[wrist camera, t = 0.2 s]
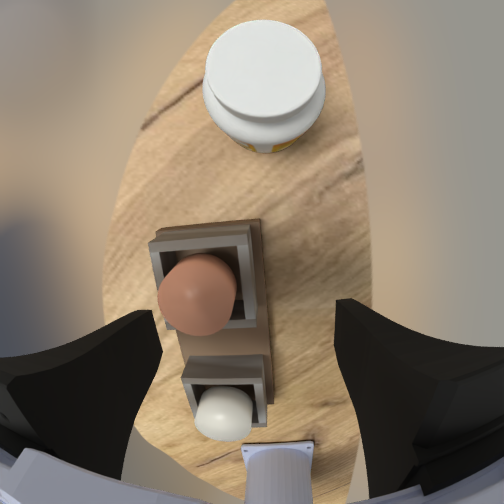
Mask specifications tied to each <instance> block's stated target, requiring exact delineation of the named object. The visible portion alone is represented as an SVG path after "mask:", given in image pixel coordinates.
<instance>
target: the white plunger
mask: <svg viewBox="0 0 504 504" xmlns="http://www.w3.org/2000/svg"><path fill="white" fill-rule="evenodd" d="M252 409H253V403H252V400H251V398H250V397H249V396H248V395H247V394H246V393H245V392H243V391H242V390H240V389H237V388H234V387H230V386H215V387H211V388H209V389H207V390H206V391H204V392H203V394H202V396H201V399H200V402H199V406H198V410H197V414H196V417H195V426H196V428H197V429H198V430H199V431H200V432H201V433H202V434H203V435H205V436H207V437H209V438H211V439H214V440H218V441H226V442H231V441H237V440H241V439H243V438H245V437H246V436H248V435H249V433H250V431H251V424H252Z"/></svg>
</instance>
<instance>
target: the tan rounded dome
mask: <svg viewBox="0 0 504 504" xmlns="http://www.w3.org/2000/svg"><path fill="white" fill-rule="evenodd" d="M236 292H237V283H236V278H235V275H234V273H233V271H232V270H231V268H230V267H229V266H228V265H227V264H226V263H225V262H224V261H223V260H221V259H220V258H218V257H216V256H214V255H211V254H207V253H195V254H191V255H188V256H186V257H184V258H183V259H181V260H180V261H179V262H178V263H177V264H176V266H175V267H174V268H173V269H172V270H171V271H170V272H169V273H168V275H167V276H166V277H165V278H164V279H163V281H162V282H161V284H160V287H159V290H158V305H159V308H160V311H161V313H162V315H163V316H164V318H165V319H166V320H167V321H168V323H169V324H170V325H172V326H173V327H174V328H176V329H177V330H179V331H181V332H183V333H185V334H189V335H193V336H207V335H211V334H214V333H216V332H218V331H219V330H221V329H222V328H223V327H224V326H225V325H226V324H227V322H228V321H229V319H230V316H231V313H232V309H233V305H234V300H235V296H236Z"/></svg>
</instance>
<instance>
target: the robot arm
mask: <svg viewBox="0 0 504 504" xmlns="http://www.w3.org/2000/svg"><path fill="white" fill-rule="evenodd" d="M334 348H335V352H336V357H337V361H338V365H339V368H340V371H341V373H342V376H343V379H344V382H345V384H346V387H347V389H348V392H349V395H350V398H351V400H352V403H353V406H354V409H355V412H356V415H357V419H358V424H359V428H360V433H361V438H362V443H363V449H364V455H365V461H366V469H367V477H368V487H369V499H368V500H364V501H359V502H354V503H349V504H504V347H481V346H472V345H464V344H458V343H453V342H449V341H445V340H440V339H436V338H433V337H430V336H426V335H424V334H421V333H418V332H416V331H413V330H411V329H408V328H406V327H404V326H402V325H400V324H397V323H395V322H393V321H391V320H390V319H388V318H386V317H384V316H382V315H380V314H379V313H377V312H375V311H373V310H372V309H370V308H368V307H367V306H365V305H363V304H361V303H360V302H358V301H356V300H354V299H352V298H350V299H341V300H336V313H335V334H334ZM162 353H163V350H162V347H161V343H160V340H159V336H158V332H157V329H156V325H155V321H154V317H153V314H152V310H137V311H134V312H131V313H129V314H127V315H125V316H123V317H121V318H119V319H117V320H115V321H113V322H111V323H110V324H108V325H106V326H104V327H102V328H100V329H98V330H96V331H94V332H92V333H90V334H88V335H86V336H84V337H82V338H79V339H77V340H75V341H72V342H70V343H67V344H65V345H62V346H59V347H56V348H52V349H49V350H45V351H42V352H38V353H34V354H28V355H22V356H16V357H5V358H0V501H1V502H2V503H3V504H211V503H208V502H205V501H202V500H200V499H196V498H191V497H187V496H182V495H178V494H174V493H170V492H166V491H162V490H157V489H152V488H148V487H143V486H138V485H134V484H131V483H127V482H123V481H121V474H122V468H123V462H124V458H125V453H126V449H127V445H128V441H129V437H130V434H131V430H132V427H133V424H134V421H135V418H136V415H137V413H138V410H139V408H140V406H141V404H142V402H143V400H144V398H145V396H146V394H147V391H148V389H149V387H150V385H151V383H152V381H153V379H154V377H155V375H156V372H157V370H158V367H159V364H160V360H161V357H162ZM313 448H314V442H313V441H302V442H290V443H274V444H243V445H242V446H241V451H242V455H243V459H244V463H245V467H246V470H247V478H246V491H245V504H313V497H312V486H311V476H310V473H311V465H312V457H313Z"/></svg>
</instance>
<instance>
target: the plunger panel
mask: <svg viewBox="0 0 504 504" xmlns="http://www.w3.org/2000/svg"><path fill="white" fill-rule="evenodd" d="M148 246H149V251H150V257H151V262H152V267H153V272H154V276H155V281H156V286H157V290H159V287H160V284H161V282H162V281H163V279H164V278H165V277H166V276H167V275H168V273H169V272H170V271H171V270H172V269H173V268H174V267H175V266H176V264H177V263H178V262H179V261H180V260H181V259H183V258H184V257H186V256H188V255H191V254H195V253H207V254H211V255H214V256H216V257H218V258H220V259H221V260H223V261H224V262H225V263H226V264H227V265H228V266H229V267H230V268H231V270H232V271H233V273H234V275H235V278H236V283H237V292H236V296H235V300H234V305H233V309H232V313H231V316H230V319H229V321H228V322H227V324H226V325H225V326H224V327H223V328H222V329H221V330H219V331H218V332H216V333H214V334H211V335H207V336H193V335H189V334H185V333H183V332H181V331H179V330H177V329H176V328H174V327H173V326H172V325H170V324H169V323H168V321H167V320H166V319H165V318H164V320H165V324H166V327H167V330H176V333H177V337H178V341H179V344H180V348H181V352H182V356H183V359H184V363H185V368H184V371H183V374H182V376H181V380H182V383H183V386H184V389H185V392H186V395H187V398H188V401H189V404H190V407H191V410H192V413H193V415H194V418H195V417H196V414H197V410H198V406H199V402H200V399H201V396H202V394H203V392H204V391H206V390H207V389H209V388H211V387H215V386H230V387H234V388H237V389H240V390H242V391H243V392H245V393H246V394H247V395H248V396H249V397H250V398H251V400H252V403H253V409H252V424H251V427H267V404H274V389H273V375H272V362H271V349H270V336H269V323H268V311H267V298H266V286H265V274H264V263H263V251H262V240H261V228H260V219H248V220H237V221H226V222H215V223H204V224H194V225H185V226H175V227H166V228H161V229H159V230H158V231H156V238H155V239H153V240H152V241H150V242H149V243H148Z"/></svg>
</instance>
